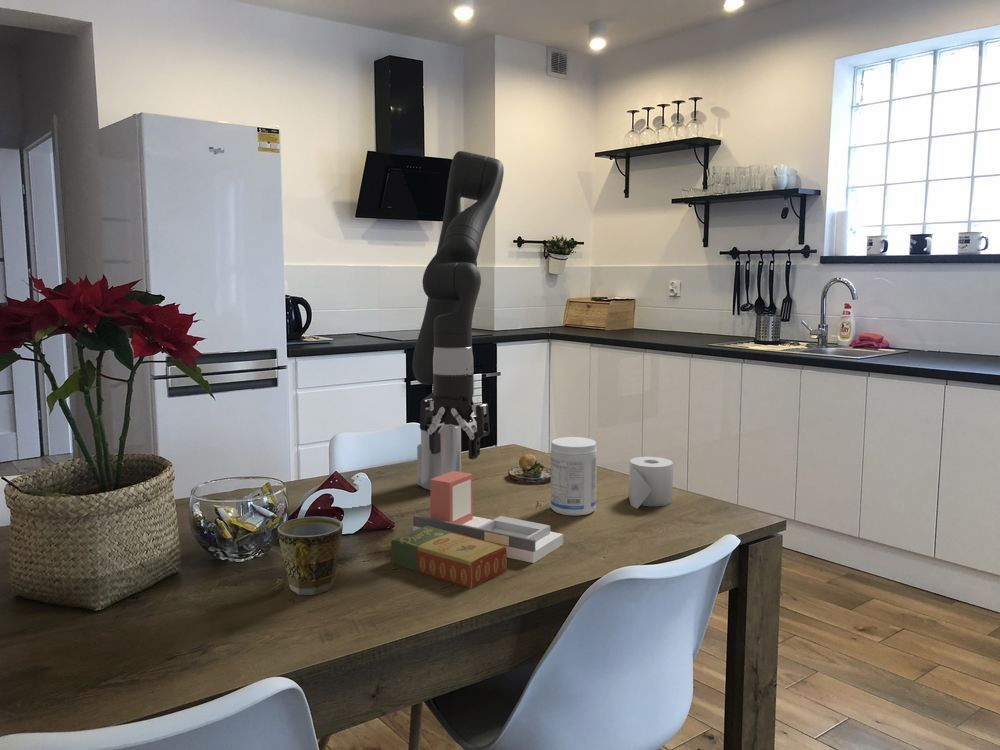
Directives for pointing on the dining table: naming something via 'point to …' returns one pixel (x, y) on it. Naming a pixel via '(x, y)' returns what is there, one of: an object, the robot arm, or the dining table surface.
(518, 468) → the burger
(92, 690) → the dining table surface
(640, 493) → the toilet tissue
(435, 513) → the tea box
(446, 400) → the robot arm
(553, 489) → the supplement tub
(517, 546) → the shelf strip
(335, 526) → the ceramic cup
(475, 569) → the carton
